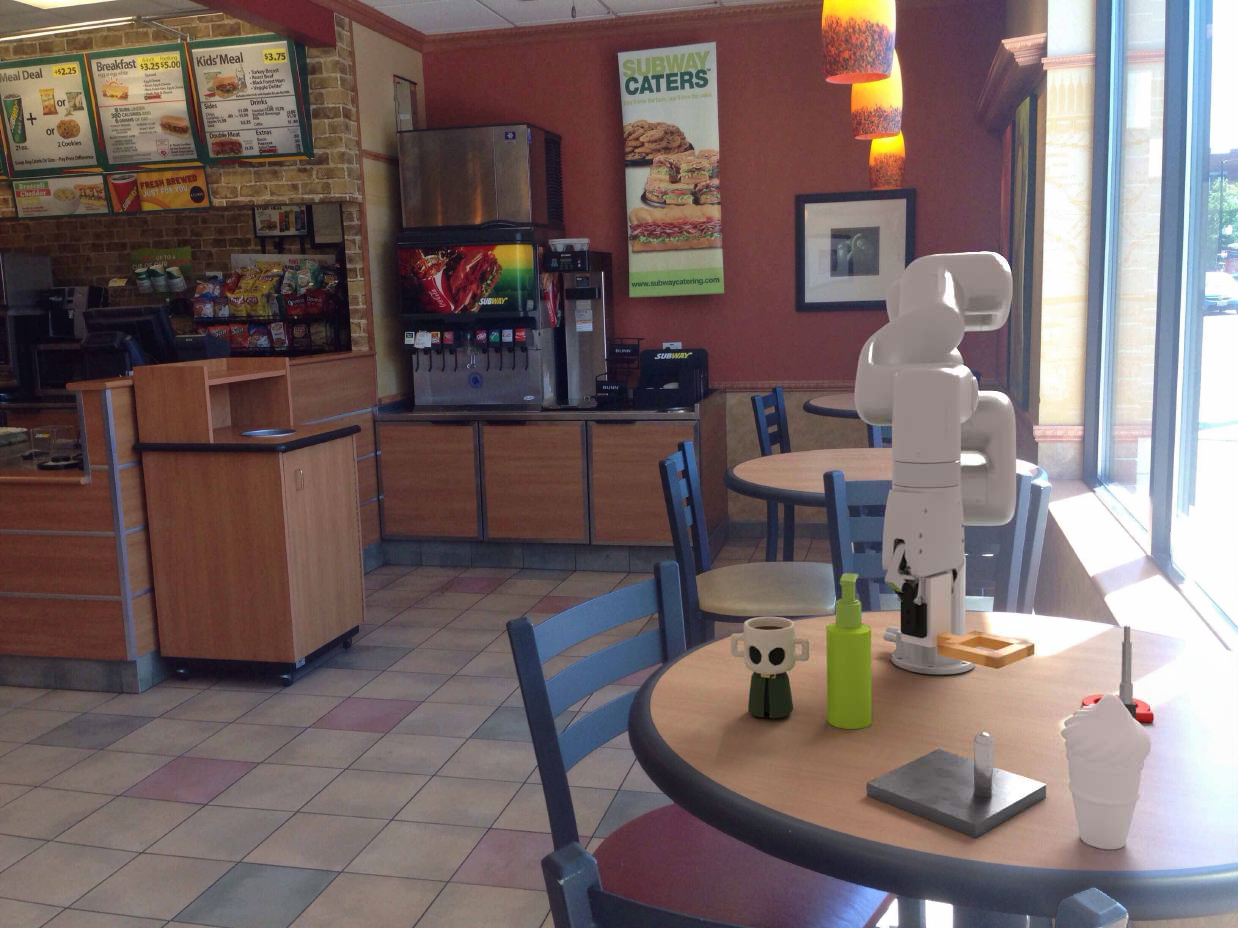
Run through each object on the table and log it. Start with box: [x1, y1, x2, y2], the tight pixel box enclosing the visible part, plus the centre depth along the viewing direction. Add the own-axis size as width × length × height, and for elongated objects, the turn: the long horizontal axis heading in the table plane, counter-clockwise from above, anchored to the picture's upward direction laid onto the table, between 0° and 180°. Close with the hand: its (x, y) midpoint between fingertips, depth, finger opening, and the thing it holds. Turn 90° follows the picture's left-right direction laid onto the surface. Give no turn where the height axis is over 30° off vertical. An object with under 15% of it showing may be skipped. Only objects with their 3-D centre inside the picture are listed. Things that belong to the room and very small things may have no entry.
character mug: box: [730, 616, 810, 719], centre depth 147 cm, size 11×7×13 cm, turn 72°
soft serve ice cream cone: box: [1060, 692, 1152, 850], centre depth 108 cm, size 8×8×16 cm
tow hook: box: [1081, 625, 1155, 723], centre depth 144 cm, size 8×13×9 cm
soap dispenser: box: [825, 572, 873, 730], centre depth 143 cm, size 6×7×20 cm
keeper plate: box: [866, 731, 1047, 839], centre depth 120 cm, size 14×14×8 cm
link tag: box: [901, 571, 1035, 670], centre depth 119 cm, size 13×7×8 cm, turn 39°
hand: (925, 629), depth 123 cm, fingers closed on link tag, 4 cm apart
